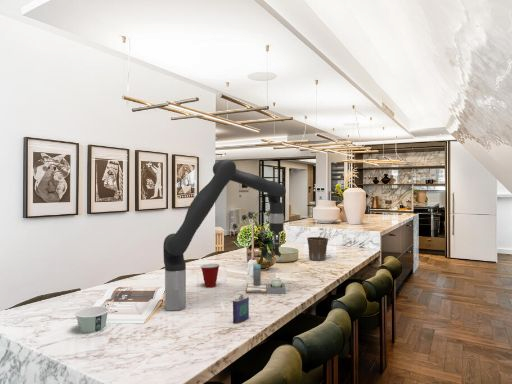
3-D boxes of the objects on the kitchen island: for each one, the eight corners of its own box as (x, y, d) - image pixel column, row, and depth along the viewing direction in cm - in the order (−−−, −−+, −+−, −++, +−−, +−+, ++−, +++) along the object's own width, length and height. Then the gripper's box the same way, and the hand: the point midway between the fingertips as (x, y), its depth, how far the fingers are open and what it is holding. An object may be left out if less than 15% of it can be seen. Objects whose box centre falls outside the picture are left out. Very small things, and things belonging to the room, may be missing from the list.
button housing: (285, 294, 185) (285, 288, 185) (267, 293, 185) (267, 288, 185) (284, 289, 194) (284, 283, 194) (267, 288, 194) (267, 283, 194)
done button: (281, 289, 187) (281, 282, 187) (271, 289, 187) (271, 282, 187) (281, 287, 192) (281, 279, 192) (271, 287, 192) (271, 279, 192)
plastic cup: (207, 282, 207) (207, 261, 207) (223, 285, 202) (223, 263, 202) (196, 287, 197) (196, 265, 197) (212, 289, 192) (212, 267, 192)
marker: (260, 285, 197) (260, 265, 197) (253, 285, 197) (253, 265, 197) (260, 284, 201) (260, 264, 201) (253, 284, 201) (253, 264, 201)
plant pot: (331, 258, 278) (331, 237, 278) (323, 262, 264) (323, 240, 264) (312, 256, 287) (312, 236, 286) (303, 260, 273) (303, 238, 273)
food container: (70, 327, 140) (70, 311, 140) (101, 320, 148) (101, 304, 148) (81, 337, 131) (81, 319, 131) (114, 328, 140) (114, 311, 140)
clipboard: (267, 293, 186) (267, 290, 186) (245, 293, 186) (245, 290, 186) (267, 285, 202) (267, 282, 202) (247, 285, 202) (247, 282, 202)
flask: (245, 316, 153) (245, 291, 152) (251, 317, 151) (251, 292, 151) (231, 322, 145) (231, 296, 145) (237, 324, 143) (237, 297, 143)
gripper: (284, 223, 182) (284, 256, 182) (282, 220, 196) (282, 251, 197) (269, 223, 182) (269, 256, 182) (269, 220, 197) (269, 251, 197)
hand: (276, 253), depth 189 cm, fingers open, 6 cm apart
